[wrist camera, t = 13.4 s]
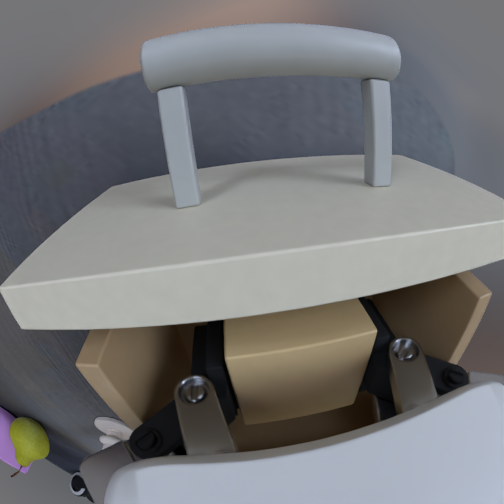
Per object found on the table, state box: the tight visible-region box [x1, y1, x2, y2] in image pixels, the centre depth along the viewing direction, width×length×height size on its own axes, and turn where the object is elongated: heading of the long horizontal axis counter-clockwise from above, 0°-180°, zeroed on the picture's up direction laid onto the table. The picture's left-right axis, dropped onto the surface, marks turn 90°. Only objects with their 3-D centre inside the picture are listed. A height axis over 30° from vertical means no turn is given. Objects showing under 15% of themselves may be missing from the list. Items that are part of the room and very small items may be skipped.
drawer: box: [0, 23, 504, 452], centre depth 10 cm, size 18×14×8 cm
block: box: [224, 298, 377, 425], centre depth 10 cm, size 4×4×4 cm
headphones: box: [70, 472, 94, 503], centre depth 39 cm, size 18×8×20 cm
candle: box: [94, 417, 133, 450], centre depth 18 cm, size 5×5×10 cm
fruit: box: [9, 417, 49, 477], centre depth 19 cm, size 7×7×12 cm
